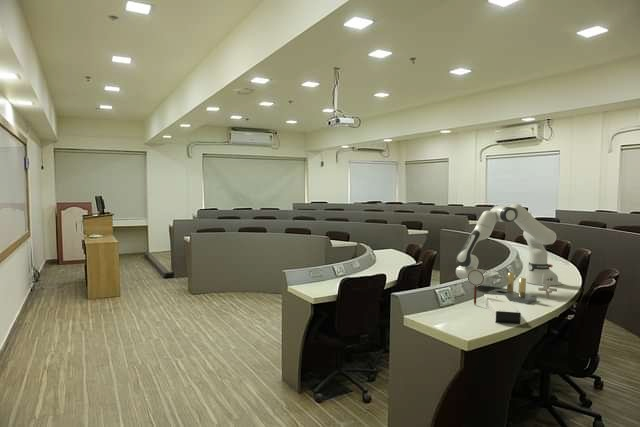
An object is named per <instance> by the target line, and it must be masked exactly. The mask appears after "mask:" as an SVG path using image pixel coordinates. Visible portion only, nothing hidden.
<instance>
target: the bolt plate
mask: <svg viewBox="0 0 640 427" xmlns="http://www.w3.org/2000/svg"><path fill="white" fill-rule="evenodd" d="M526 281H527V278H526V277H519V279H518V292H515V291H513V292H510V291H507V290H504V289H500V288H495V289H492V290H489V291H487V294H490V295H505V296H506V297H507V298H508V300H509V301H510V302H516V303H521V304H525V305H530V304H532V303H534V302H536V301H537V299H538V296H537V295H531V294H526V292H527V290H526V289H527V288H526V287H527V286H526V284H527V282H526Z"/></svg>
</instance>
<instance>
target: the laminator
mask: <svg viewBox="0 0 640 427" xmlns="http://www.w3.org/2000/svg"><path fill="white" fill-rule="evenodd" d="M483 306H484V307H485V308H486V310H487V312H488V313H489V315H490V316H491V317H493V318H492V320H493V321H494V320H495V321H494V322H495V323H497V322H500V323H499V324H511V323H513V325H521V319H522V318H521V316H522V314H521V312H520V310H518V308H517V307H516V306H515V305H514V304H513V303H512V301H510V300H508V298H507V297H506V296H505V295H490V294H488V293H487V294H484V295H483Z"/></svg>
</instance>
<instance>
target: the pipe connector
mask: <svg viewBox="0 0 640 427" xmlns="http://www.w3.org/2000/svg"><path fill="white" fill-rule="evenodd" d="M549 284H550V282H549V281H546V286H543V287H537V289H538V291H539V292H541V291H542V292H545V298H546V299H549V298H550V294H552V293H553V292H555V293H556V292H558V288H550V286H549Z"/></svg>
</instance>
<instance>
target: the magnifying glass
mask: <svg viewBox="0 0 640 427" xmlns="http://www.w3.org/2000/svg"><path fill="white" fill-rule="evenodd" d="M468 280H469V281H468ZM468 280H467V281H468V282H469V283H470V284H471V285H473V286H474V287H473V291H474V293H473V305H474V306H476V305H477V290H478V289H477V287H478V286H480V285H481V284H484V283H483V281H484V276H483V274H482V273H481V272H480V271H478V270H473V271H471V272H469V274H468Z"/></svg>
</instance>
